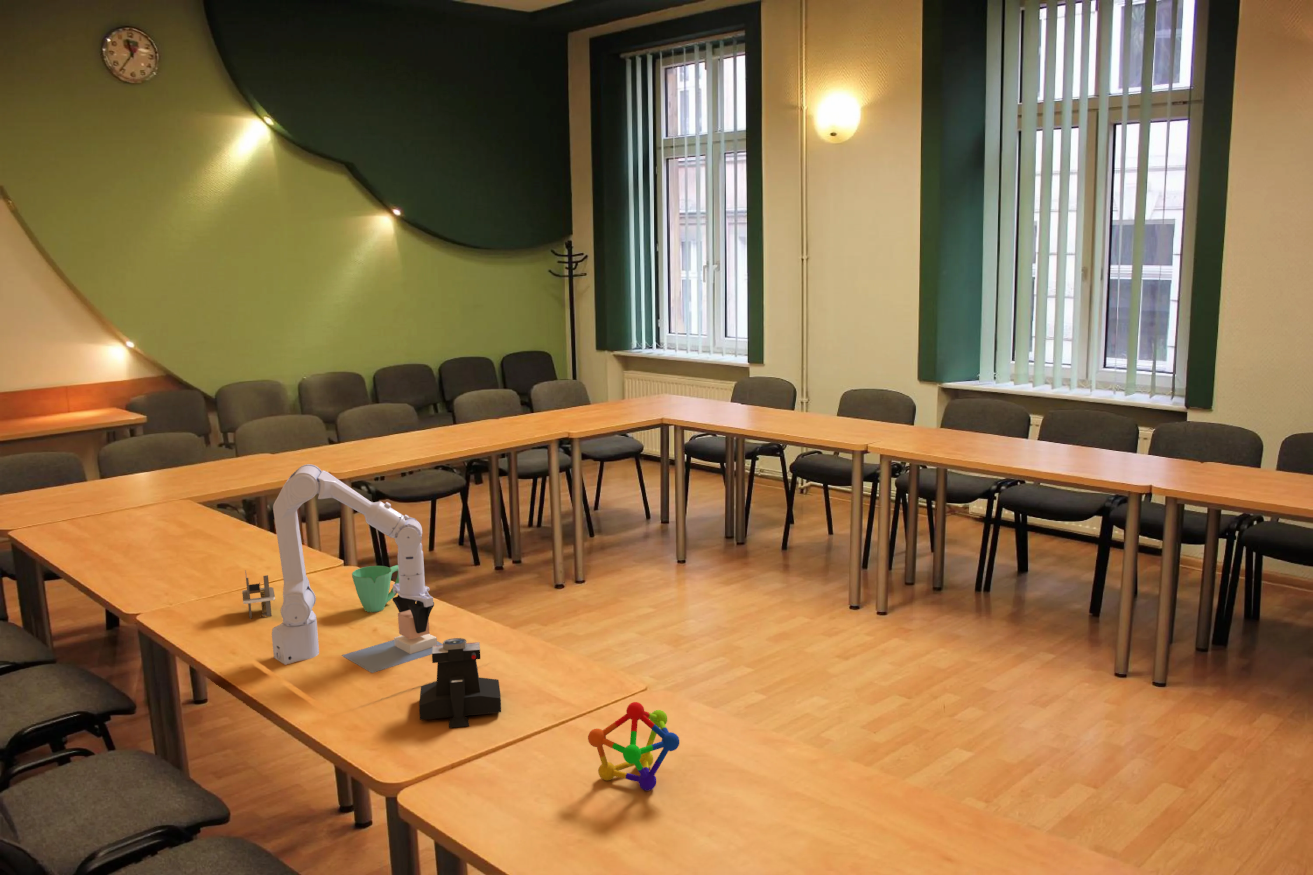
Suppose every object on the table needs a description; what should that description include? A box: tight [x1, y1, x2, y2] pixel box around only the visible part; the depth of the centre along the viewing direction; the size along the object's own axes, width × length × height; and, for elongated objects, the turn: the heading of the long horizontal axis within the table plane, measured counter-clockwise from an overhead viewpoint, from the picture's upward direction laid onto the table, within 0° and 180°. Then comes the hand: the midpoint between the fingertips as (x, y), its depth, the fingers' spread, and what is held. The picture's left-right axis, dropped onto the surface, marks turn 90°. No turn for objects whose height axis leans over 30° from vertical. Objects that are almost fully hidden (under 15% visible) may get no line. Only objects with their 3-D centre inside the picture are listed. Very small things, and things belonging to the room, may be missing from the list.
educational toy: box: [587, 701, 680, 792], centre depth 189 cm, size 16×13×15 cm
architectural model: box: [241, 570, 276, 620], centre depth 276 cm, size 19×17×11 cm
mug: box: [351, 564, 399, 613], centre depth 280 cm, size 15×10×10 cm
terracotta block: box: [397, 610, 431, 639], centre depth 250 cm, size 5×5×5 cm
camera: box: [418, 637, 502, 728], centre depth 218 cm, size 16×14×15 cm
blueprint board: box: [341, 634, 443, 674], centre depth 248 cm, size 20×14×3 cm
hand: (414, 628), depth 251 cm, fingers closed on terracotta block, 5 cm apart
